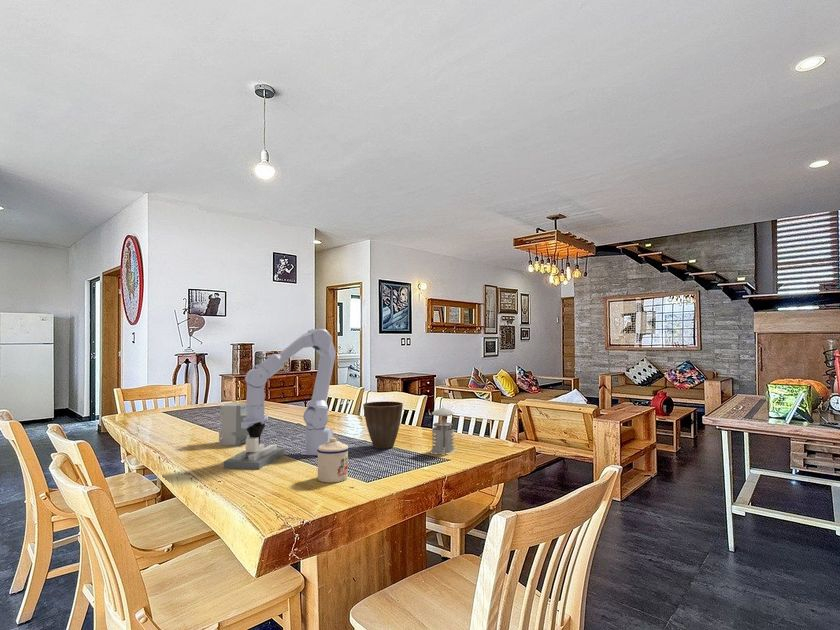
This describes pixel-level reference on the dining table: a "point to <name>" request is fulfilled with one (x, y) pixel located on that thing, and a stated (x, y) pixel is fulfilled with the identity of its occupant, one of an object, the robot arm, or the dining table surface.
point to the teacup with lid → (332, 461)
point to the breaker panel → (257, 462)
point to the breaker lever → (252, 445)
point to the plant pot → (383, 422)
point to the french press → (443, 433)
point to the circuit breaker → (232, 424)
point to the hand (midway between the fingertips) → (255, 446)
